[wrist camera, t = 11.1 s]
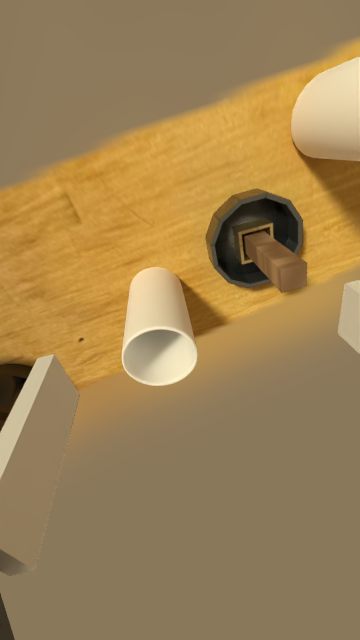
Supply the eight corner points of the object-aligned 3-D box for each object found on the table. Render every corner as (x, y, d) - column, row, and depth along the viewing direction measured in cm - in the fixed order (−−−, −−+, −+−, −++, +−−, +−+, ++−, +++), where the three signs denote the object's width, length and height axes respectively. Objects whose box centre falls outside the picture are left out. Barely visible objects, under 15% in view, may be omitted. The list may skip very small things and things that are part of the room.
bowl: (214, 285, 43) (219, 295, 40) (199, 204, 36) (203, 209, 33) (291, 265, 42) (301, 274, 39) (290, 179, 35) (303, 182, 32)
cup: (187, 306, 44) (204, 375, 31) (139, 319, 45) (136, 393, 31) (174, 260, 40) (188, 318, 26) (121, 275, 40) (109, 339, 27)
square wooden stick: (241, 249, 39) (281, 292, 28) (239, 231, 38) (280, 269, 26) (259, 244, 39) (306, 285, 28) (257, 226, 38) (306, 262, 26)
